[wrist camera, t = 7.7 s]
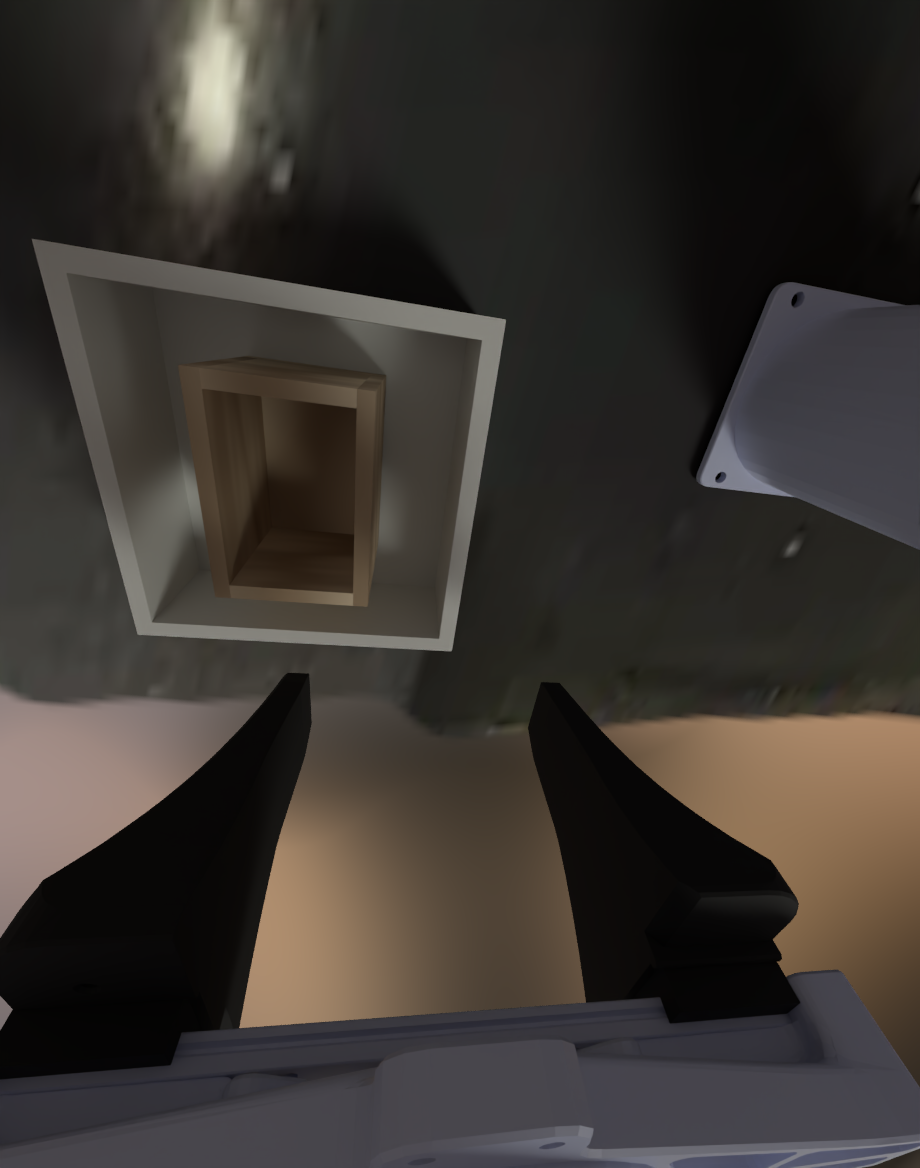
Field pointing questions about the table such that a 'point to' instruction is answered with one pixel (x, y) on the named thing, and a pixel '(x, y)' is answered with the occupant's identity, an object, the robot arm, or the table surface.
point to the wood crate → (287, 476)
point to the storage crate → (288, 333)
